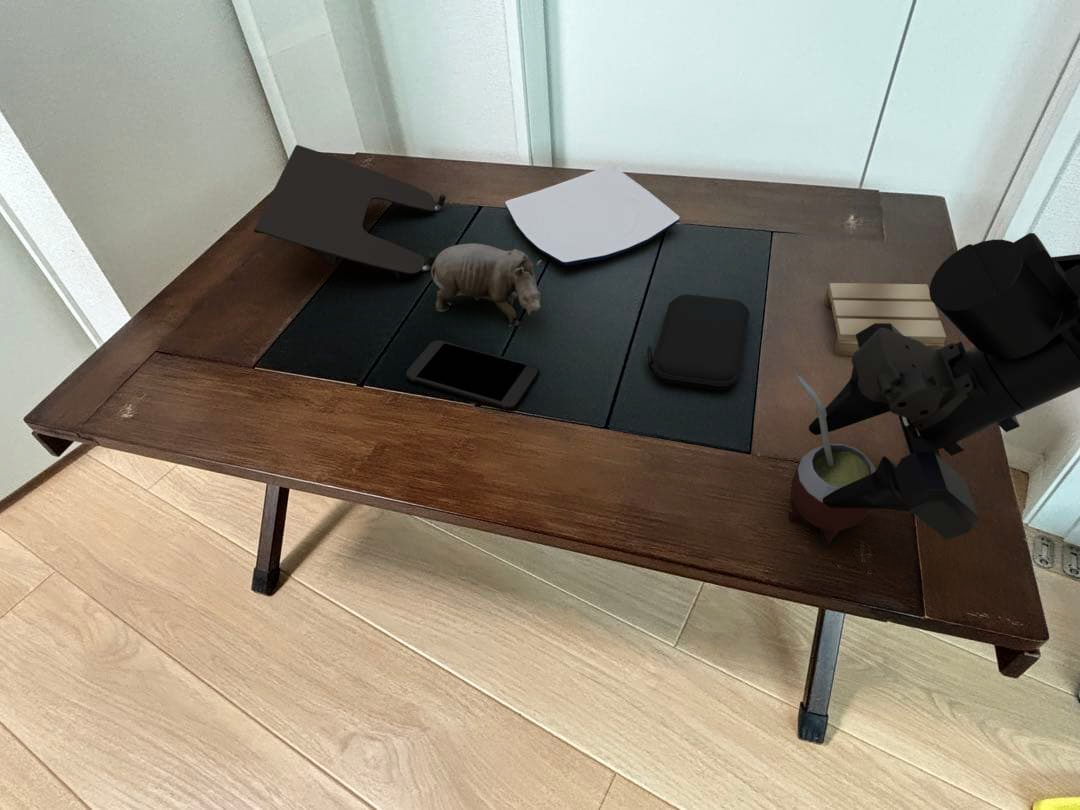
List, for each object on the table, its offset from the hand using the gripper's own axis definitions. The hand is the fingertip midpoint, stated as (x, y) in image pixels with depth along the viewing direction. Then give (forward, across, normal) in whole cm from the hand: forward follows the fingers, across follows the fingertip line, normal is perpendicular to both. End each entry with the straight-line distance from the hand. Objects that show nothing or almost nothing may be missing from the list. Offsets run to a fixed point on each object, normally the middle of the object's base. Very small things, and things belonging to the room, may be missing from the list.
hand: (818, 465), depth 62 cm
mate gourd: (+5, 0, +6) cm, 8 cm away
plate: (+22, -50, -11) cm, 55 cm away
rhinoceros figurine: (+29, -30, -18) cm, 46 cm away
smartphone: (+30, -18, -19) cm, 40 cm away
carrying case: (+12, -23, -1) cm, 26 cm away
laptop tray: (+45, -46, -34) cm, 72 cm away
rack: (-3, -27, +14) cm, 31 cm away
